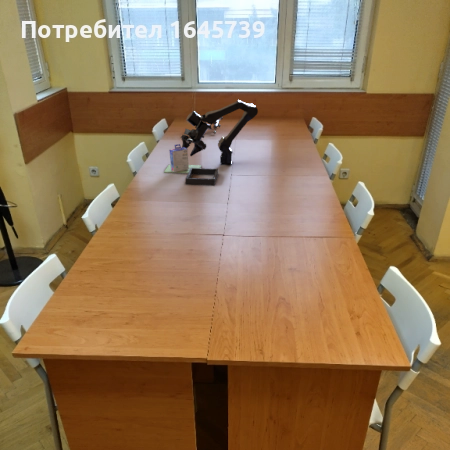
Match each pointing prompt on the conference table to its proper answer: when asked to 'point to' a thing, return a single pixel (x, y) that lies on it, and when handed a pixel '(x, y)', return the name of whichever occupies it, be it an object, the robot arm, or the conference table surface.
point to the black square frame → (201, 180)
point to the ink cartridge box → (179, 159)
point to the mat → (168, 170)
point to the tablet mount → (214, 124)
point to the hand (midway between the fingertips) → (185, 154)
